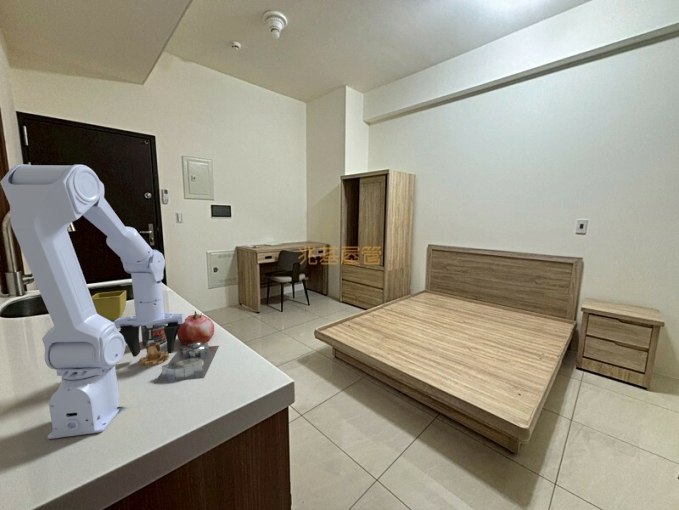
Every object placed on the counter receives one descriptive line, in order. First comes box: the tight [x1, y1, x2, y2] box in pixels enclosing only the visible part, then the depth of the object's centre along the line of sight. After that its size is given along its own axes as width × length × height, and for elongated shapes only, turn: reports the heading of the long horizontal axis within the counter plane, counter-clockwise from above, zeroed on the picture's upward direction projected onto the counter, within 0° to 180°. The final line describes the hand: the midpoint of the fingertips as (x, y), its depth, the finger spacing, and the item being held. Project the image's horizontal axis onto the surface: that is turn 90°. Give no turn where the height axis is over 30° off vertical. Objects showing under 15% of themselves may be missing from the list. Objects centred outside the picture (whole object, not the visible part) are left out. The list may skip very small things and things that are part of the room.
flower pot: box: [91, 290, 127, 322], centre depth 101 cm, size 9×9×9 cm
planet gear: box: [138, 342, 170, 368], centre depth 71 cm, size 6×6×5 cm
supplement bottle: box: [140, 324, 167, 348], centre depth 80 cm, size 6×6×11 cm
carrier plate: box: [153, 345, 220, 384], centre depth 70 cm, size 16×10×1 cm, turn 12°
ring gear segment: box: [161, 361, 203, 379], centre depth 64 cm, size 3×8×2 cm, turn 102°
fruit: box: [176, 310, 215, 346], centre depth 81 cm, size 9×10×10 cm
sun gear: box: [182, 341, 210, 358], centre depth 74 cm, size 6×6×2 cm
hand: (154, 353), depth 71 cm, fingers open, 7 cm apart
